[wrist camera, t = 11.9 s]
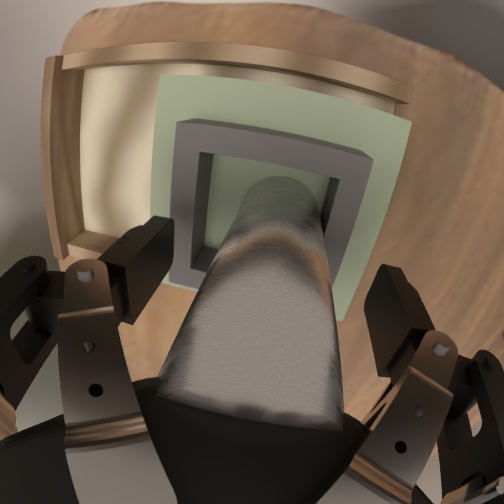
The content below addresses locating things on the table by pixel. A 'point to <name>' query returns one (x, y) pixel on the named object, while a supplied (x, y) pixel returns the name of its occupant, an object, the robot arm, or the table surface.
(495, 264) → the table surface
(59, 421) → the robot arm
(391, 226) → the table surface
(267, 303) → the handle
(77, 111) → the bay
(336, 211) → the green stepped block
